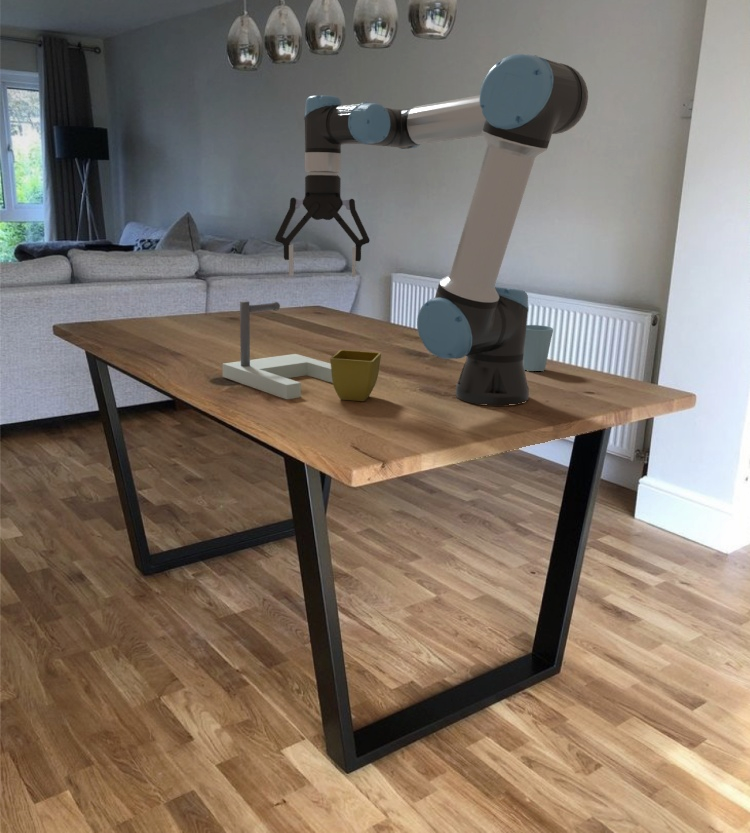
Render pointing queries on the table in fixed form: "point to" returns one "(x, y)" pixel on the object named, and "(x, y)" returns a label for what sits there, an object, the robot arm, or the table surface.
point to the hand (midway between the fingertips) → (322, 276)
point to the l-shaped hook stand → (271, 363)
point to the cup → (536, 347)
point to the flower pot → (354, 373)
